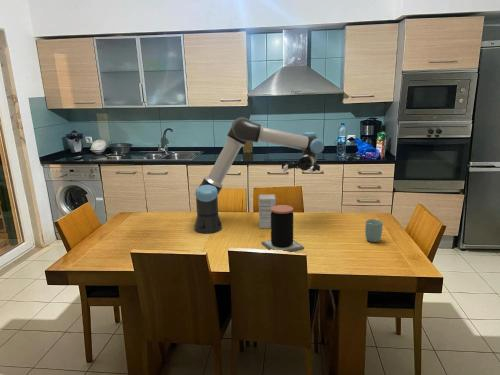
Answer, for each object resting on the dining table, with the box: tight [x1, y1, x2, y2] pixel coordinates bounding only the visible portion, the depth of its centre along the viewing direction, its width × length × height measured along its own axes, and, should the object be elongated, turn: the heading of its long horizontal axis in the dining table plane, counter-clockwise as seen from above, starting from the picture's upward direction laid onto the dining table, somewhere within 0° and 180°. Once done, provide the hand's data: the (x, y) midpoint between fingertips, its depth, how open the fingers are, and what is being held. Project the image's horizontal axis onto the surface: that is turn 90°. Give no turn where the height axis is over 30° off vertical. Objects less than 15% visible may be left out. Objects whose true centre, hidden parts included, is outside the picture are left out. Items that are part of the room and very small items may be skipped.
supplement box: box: [258, 194, 277, 229], centre depth 205 cm, size 10×9×17 cm
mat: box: [261, 239, 305, 253], centre depth 178 cm, size 15×15×1 cm
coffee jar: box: [270, 204, 294, 248], centre depth 176 cm, size 11×11×18 cm
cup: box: [364, 218, 384, 243], centre depth 181 cm, size 8×8×10 cm
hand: (297, 170), depth 185 cm, fingers open, 13 cm apart
